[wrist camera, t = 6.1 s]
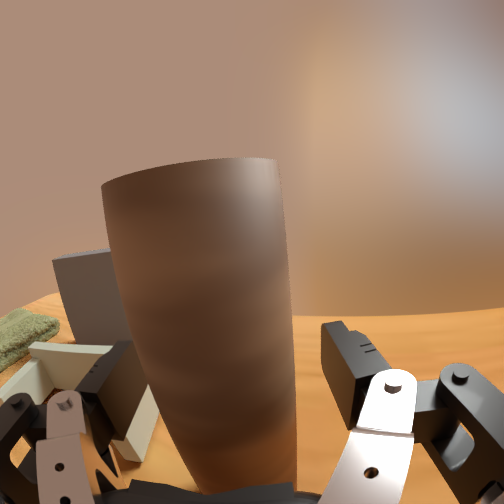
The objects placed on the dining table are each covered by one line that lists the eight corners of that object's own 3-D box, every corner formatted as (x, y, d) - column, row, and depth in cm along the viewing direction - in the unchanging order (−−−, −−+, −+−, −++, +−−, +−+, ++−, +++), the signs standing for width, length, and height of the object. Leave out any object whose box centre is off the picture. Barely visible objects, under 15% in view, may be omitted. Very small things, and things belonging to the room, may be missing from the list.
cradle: (13, 425, 11) (-13, 383, 10) (51, 379, 18) (35, 341, 17) (142, 462, 11) (114, 416, 10) (167, 389, 18) (152, 345, 17)
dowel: (204, 525, 7) (65, 189, 4) (210, 462, 12) (139, 188, 9) (302, 520, 7) (293, 149, 4) (290, 456, 12) (269, 170, 9)
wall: (77, 346, 25) (51, 260, 23) (86, 337, 27) (64, 255, 25) (194, 346, 25) (174, 242, 23) (197, 334, 27) (180, 238, 25)
